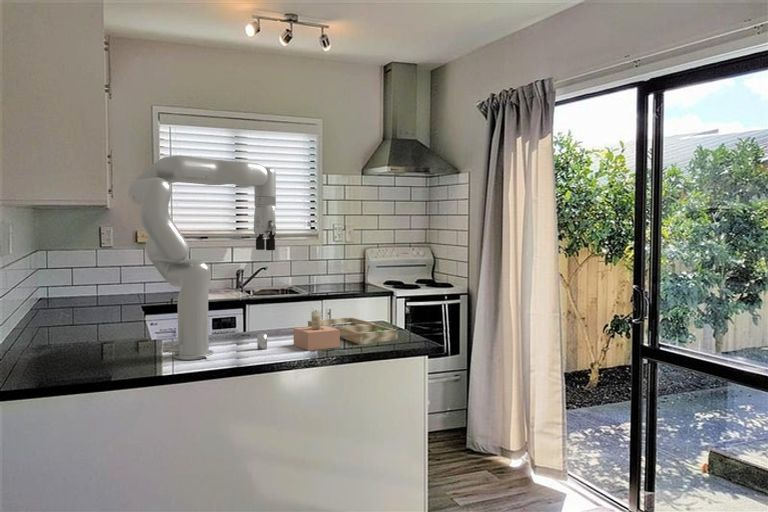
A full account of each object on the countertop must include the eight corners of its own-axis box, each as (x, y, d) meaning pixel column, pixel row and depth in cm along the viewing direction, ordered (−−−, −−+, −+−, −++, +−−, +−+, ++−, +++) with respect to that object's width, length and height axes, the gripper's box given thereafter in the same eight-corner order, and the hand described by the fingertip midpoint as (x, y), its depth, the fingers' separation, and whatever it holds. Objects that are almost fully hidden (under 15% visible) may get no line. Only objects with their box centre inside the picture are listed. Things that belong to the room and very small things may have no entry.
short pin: (259, 350, 202) (259, 335, 202) (256, 348, 205) (255, 334, 205) (268, 349, 204) (268, 334, 204) (264, 347, 207) (264, 333, 207)
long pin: (314, 347, 208) (314, 312, 207) (310, 345, 211) (310, 311, 210) (322, 346, 210) (322, 312, 209) (318, 344, 212) (318, 311, 212)
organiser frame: (354, 345, 211) (354, 334, 211) (308, 330, 243) (307, 321, 243) (401, 340, 222) (401, 329, 222) (351, 326, 254) (351, 317, 254)
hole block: (308, 350, 202) (308, 332, 202) (293, 345, 212) (293, 328, 212) (339, 347, 208) (339, 329, 208) (324, 341, 218) (324, 325, 218)
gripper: (246, 203, 221) (246, 249, 222) (264, 200, 207) (264, 250, 207) (265, 203, 225) (266, 249, 226) (284, 201, 211) (284, 250, 211)
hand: (265, 250), depth 217 cm, fingers open, 9 cm apart
